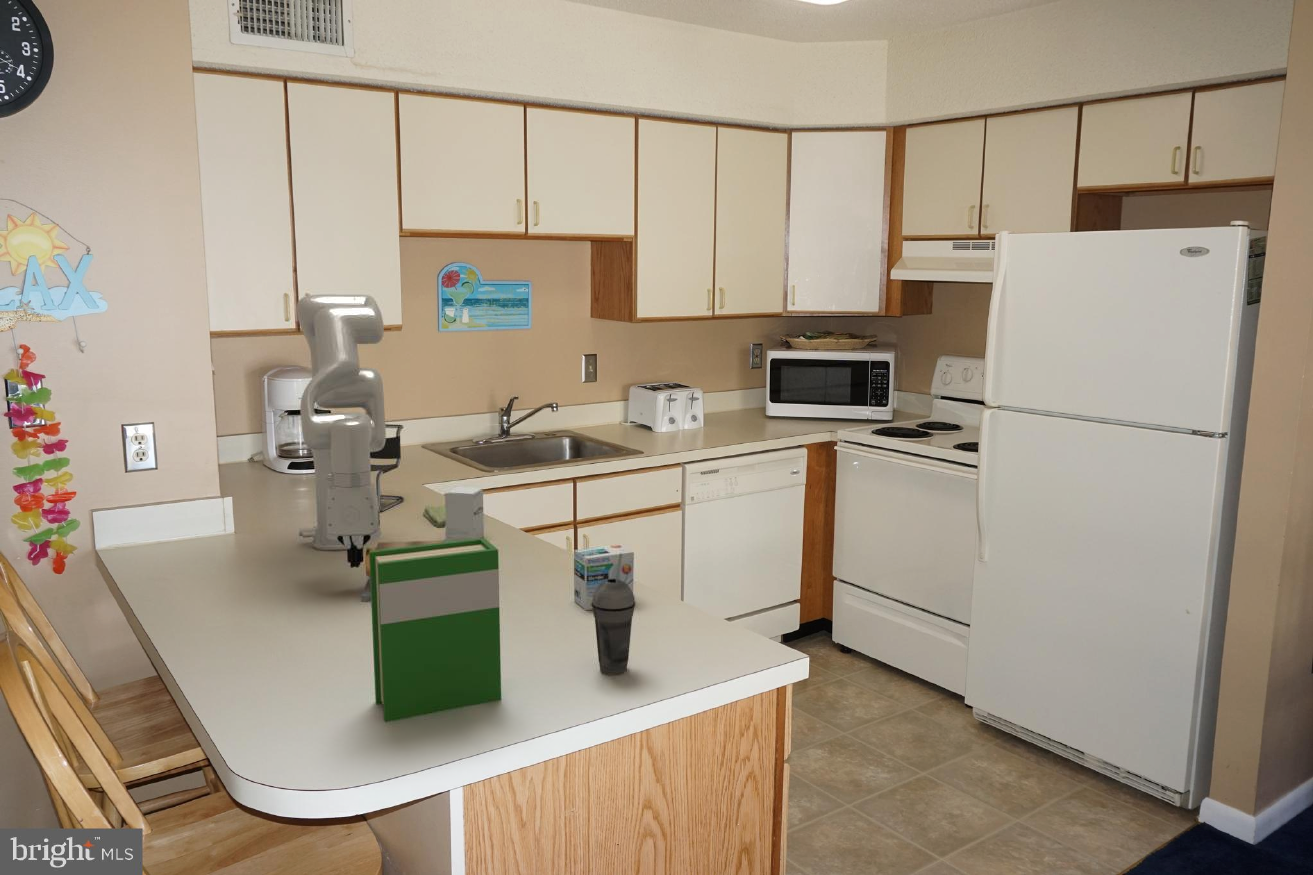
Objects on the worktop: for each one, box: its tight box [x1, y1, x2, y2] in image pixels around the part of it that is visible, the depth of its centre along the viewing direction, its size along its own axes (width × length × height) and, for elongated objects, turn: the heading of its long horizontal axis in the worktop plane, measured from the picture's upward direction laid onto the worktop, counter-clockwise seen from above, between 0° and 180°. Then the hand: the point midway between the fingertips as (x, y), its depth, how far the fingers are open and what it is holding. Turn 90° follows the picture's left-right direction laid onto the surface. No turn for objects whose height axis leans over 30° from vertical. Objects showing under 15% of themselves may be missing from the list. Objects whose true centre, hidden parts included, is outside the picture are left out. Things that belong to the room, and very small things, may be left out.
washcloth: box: [422, 504, 446, 528], centre depth 261 cm, size 13×18×3 cm
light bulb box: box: [573, 543, 635, 611], centre depth 194 cm, size 11×7×11 cm, turn 118°
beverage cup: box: [591, 553, 636, 676], centre depth 160 cm, size 7×7×20 cm
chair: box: [370, 423, 404, 512], centre depth 273 cm, size 13×17×22 cm
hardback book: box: [369, 537, 502, 723], centre depth 148 cm, size 18×7×24 cm, turn 116°
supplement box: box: [444, 486, 485, 542], centre depth 239 cm, size 7×7×13 cm
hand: (355, 565), depth 201 cm, fingers closed
